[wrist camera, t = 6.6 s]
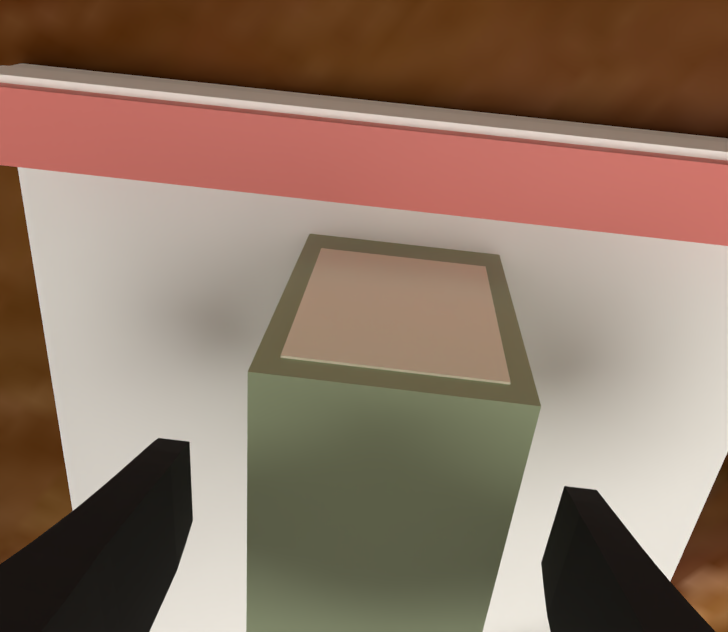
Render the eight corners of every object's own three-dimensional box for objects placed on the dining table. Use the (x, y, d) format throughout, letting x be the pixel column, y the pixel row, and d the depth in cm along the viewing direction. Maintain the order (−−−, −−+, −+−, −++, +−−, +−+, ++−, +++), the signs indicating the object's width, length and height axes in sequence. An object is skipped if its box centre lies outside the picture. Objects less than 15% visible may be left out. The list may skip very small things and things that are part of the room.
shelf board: (111, 675, 25) (77, 753, 22) (20, 56, 15) (-62, 71, 12) (585, 739, 24) (603, 826, 22) (838, 143, 14) (927, 178, 12)
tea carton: (453, 486, 18) (466, 695, 13) (297, 467, 18) (246, 666, 13) (499, 253, 15) (542, 403, 10) (309, 232, 15) (247, 369, 10)
